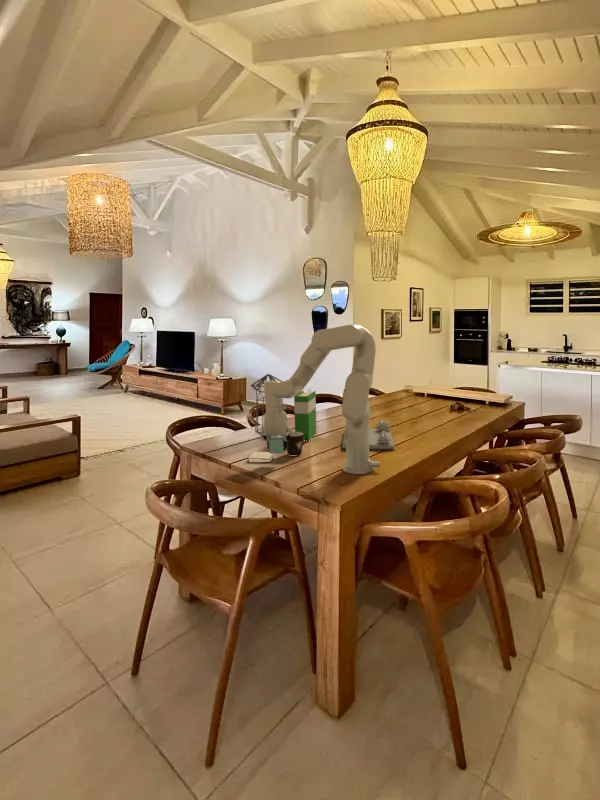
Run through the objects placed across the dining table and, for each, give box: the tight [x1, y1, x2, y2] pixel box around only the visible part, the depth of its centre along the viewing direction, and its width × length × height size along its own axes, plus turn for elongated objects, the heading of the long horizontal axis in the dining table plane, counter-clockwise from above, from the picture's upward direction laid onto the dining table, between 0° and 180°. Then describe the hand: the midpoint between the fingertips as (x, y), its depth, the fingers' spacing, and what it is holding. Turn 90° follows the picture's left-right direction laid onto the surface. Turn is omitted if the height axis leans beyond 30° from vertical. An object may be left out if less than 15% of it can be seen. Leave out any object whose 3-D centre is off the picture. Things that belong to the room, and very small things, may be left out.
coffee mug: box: [286, 431, 307, 455], centre depth 213 cm, size 12×9×10 cm
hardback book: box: [293, 390, 317, 441], centre depth 243 cm, size 18×7×24 cm, turn 166°
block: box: [268, 435, 286, 455], centre depth 198 cm, size 6×6×6 cm
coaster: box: [248, 451, 276, 460], centre depth 207 cm, size 10×10×2 cm
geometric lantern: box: [250, 373, 284, 438], centre depth 242 cm, size 16×16×35 cm
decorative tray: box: [341, 419, 395, 451], centre depth 234 cm, size 35×26×10 cm
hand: (277, 449), depth 198 cm, fingers closed on block, 6 cm apart
